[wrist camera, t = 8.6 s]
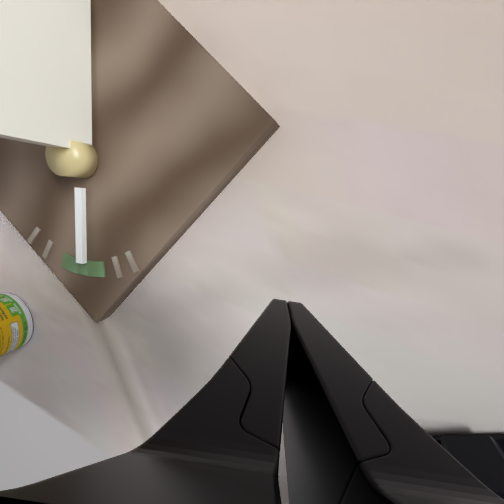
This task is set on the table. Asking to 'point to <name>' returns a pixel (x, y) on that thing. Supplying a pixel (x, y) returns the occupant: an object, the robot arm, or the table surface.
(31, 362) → the table surface
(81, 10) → the upright white panel
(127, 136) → the tuner board
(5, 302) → the supplement bottle
